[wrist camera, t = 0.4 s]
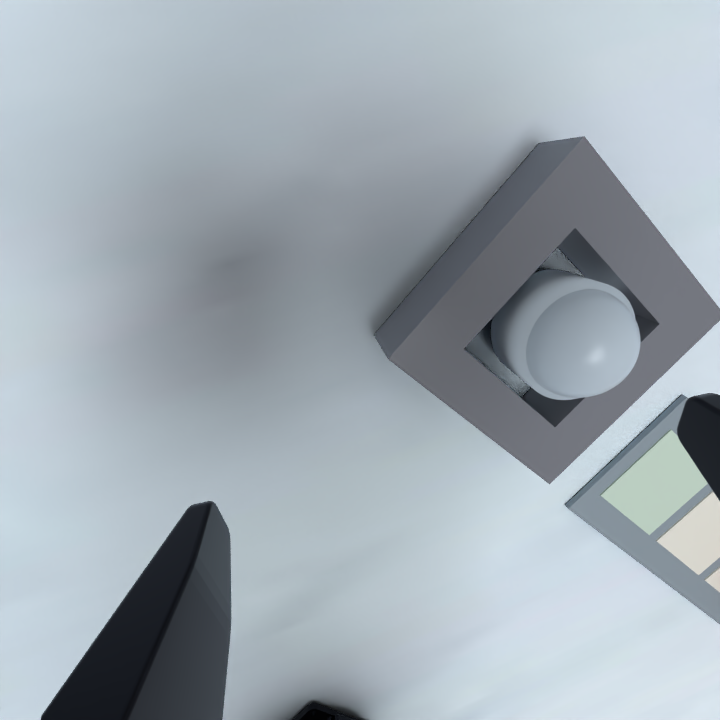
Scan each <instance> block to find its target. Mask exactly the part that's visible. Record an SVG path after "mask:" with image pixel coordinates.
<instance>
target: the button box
mask: <svg viewBox="0 0 720 720" xmlns="http://www.w3.org/2000/svg"><path fill="white" fill-rule="evenodd" d="M557 247H558V248H559V249H560V250H561V251H562V252H563V253H564V254H565V255H566V257H567V258H568V259H569V260H570V261H571V262H572V263H573V264H574V265H575V266H576V267H577V269H578V270H579V271H580V272H581V273H582V274H583V275H584V276H585V277H586V278H589V279H592V280H595V281H599V282H602V283H605V284H608V285H610V286H613V287H615V288H616V289H618V290H619V291H621V292H622V293H623V294H624V295H625V296H626V298H627V299H628V300H629V302H630V304H631V306H632V308H633V311H634V314H635V319H636V322H637V324H638V327H639V332H640V341H641V343H640V351H639V355H638V358H637V361H636V363H635V365H634V367H633V369H632V370H631V372H630V373H629V374H628V376H627V377H626V378H625V379H624V380H623V381H622V382H621V383H619V384H618V385H617V386H615V387H614V388H612V389H610V390H608V391H606V392H604V393H602V394H599V395H595V396H591V397H583V398H577V399H572V400H556V399H551V398H548V397H545V396H543V395H541V394H539V393H538V392H536V391H535V390H534V389H533V388H531V389H530V390H529V391H528V392H527V393H526V394H525V395H524V396H523V397H521V396H520V395H519V394H517V393H516V392H515V391H514V390H513V389H512V388H510V387H509V386H508V385H507V384H506V383H505V382H503V381H502V380H501V379H500V378H499V377H498V376H496V375H495V374H494V373H493V372H492V371H491V370H489V369H488V368H487V367H486V366H485V365H483V364H482V363H481V362H480V361H479V360H478V359H476V358H475V357H474V356H473V355H472V354H471V353H469V352H468V351H467V350H466V349H465V347H466V346H467V345H468V344H469V343H470V342H471V341H472V340H473V338H474V337H475V336H476V335H477V334H478V333H479V332H480V331H481V330H482V329H483V328H484V326H485V325H486V324H487V323H488V322H489V321H490V320H491V319H492V318H493V317H494V316H495V314H496V313H497V312H498V311H499V310H500V309H501V308H502V307H503V306H504V305H505V304H506V302H507V301H508V300H509V299H510V298H511V297H512V296H513V295H514V294H515V293H516V292H517V290H518V289H519V288H520V287H521V286H522V285H523V284H524V283H525V282H526V281H527V280H528V278H529V277H530V276H531V275H532V274H533V273H534V272H535V271H536V270H537V269H538V268H539V266H540V265H541V264H542V263H543V262H544V261H545V260H546V259H547V258H548V257H549V256H550V254H551V253H552V252H553V251H554V250H555V249H556V248H557ZM719 321H720V308H719V307H718V306H717V305H716V303H715V302H714V301H713V300H712V298H711V297H710V296H709V294H708V293H707V292H706V291H705V289H704V288H703V287H702V286H701V284H700V283H699V282H698V280H697V279H696V278H695V277H694V275H693V274H692V273H691V272H690V270H689V269H688V268H687V266H686V265H685V264H684V263H683V261H682V260H681V259H680V258H679V256H678V255H677V254H676V252H675V251H674V250H673V249H672V247H671V246H670V245H669V244H668V242H667V241H666V240H665V238H664V237H663V236H662V235H661V233H660V232H659V231H658V230H657V228H656V227H655V226H654V224H653V223H652V222H651V221H650V219H649V218H648V217H647V216H646V214H645V213H644V212H643V210H642V209H641V208H640V207H639V205H638V204H637V203H636V202H635V200H634V199H633V198H632V196H631V195H630V194H629V193H628V191H627V190H626V189H625V188H624V186H623V185H622V184H621V182H620V181H619V180H618V179H617V177H616V176H615V175H614V174H613V172H612V171H611V170H610V168H609V167H608V166H607V165H606V163H605V162H604V161H603V160H602V158H601V157H600V156H599V154H598V153H597V152H596V151H595V149H594V148H593V147H592V146H591V144H590V143H589V142H588V140H587V139H586V138H585V137H577V138H570V139H564V140H557V141H550V142H544V143H539V144H538V145H537V146H536V147H535V148H534V150H533V151H532V152H531V153H530V154H529V155H528V157H527V158H526V159H525V160H524V161H523V162H522V164H521V165H520V166H519V167H518V168H517V169H516V171H515V172H514V173H513V174H512V175H511V176H510V177H509V179H508V180H507V181H506V182H505V183H504V184H503V186H502V187H501V188H500V189H499V190H498V191H497V193H496V194H495V195H494V196H493V197H492V198H491V200H490V201H489V202H488V203H487V204H486V205H485V206H484V208H483V209H482V210H481V211H480V212H479V213H478V215H477V216H476V217H475V218H474V219H473V220H472V222H471V223H470V224H469V225H468V226H467V227H466V229H465V230H464V231H463V232H462V233H461V234H460V235H459V237H458V238H457V239H456V240H455V241H454V242H453V244H452V245H451V246H450V247H449V248H448V249H447V251H446V252H445V253H444V254H443V255H442V256H441V258H440V259H439V260H438V261H437V262H436V263H435V264H434V266H433V267H432V268H431V269H430V270H429V271H428V273H427V274H426V275H425V276H424V277H423V278H422V280H421V281H420V282H419V283H418V284H417V285H416V287H415V288H414V289H413V290H412V291H411V292H410V293H409V295H408V296H407V297H406V298H405V299H404V300H403V302H402V303H401V304H400V305H399V306H398V307H397V309H396V310H395V311H394V312H393V313H392V314H391V316H390V317H389V318H388V319H387V320H386V321H385V322H384V324H383V325H382V326H381V327H380V328H379V329H378V331H377V332H376V333H375V334H374V336H375V338H376V339H377V341H378V343H379V344H380V346H381V348H382V350H383V351H384V353H385V355H386V356H387V358H388V359H389V360H390V361H391V362H393V363H394V364H395V365H396V366H398V367H399V368H400V369H402V370H403V371H404V372H406V373H407V374H408V375H409V376H411V377H412V378H413V379H415V380H416V381H417V382H418V383H420V384H421V385H422V386H424V387H425V388H426V389H427V390H429V391H430V392H431V393H433V394H434V395H435V396H436V397H438V398H439V399H440V400H442V401H443V402H444V403H445V404H447V405H448V406H449V407H451V408H452V409H453V410H455V411H456V412H457V413H458V414H460V415H461V416H462V417H464V418H465V419H466V420H467V421H469V422H470V423H471V424H473V425H474V426H475V427H476V428H478V429H479V430H480V431H482V432H483V433H484V434H485V435H487V436H488V437H489V438H491V439H492V440H493V441H494V442H496V443H497V444H498V445H500V446H501V447H502V448H504V449H505V450H506V451H507V452H509V453H510V454H511V455H513V456H514V457H515V458H516V459H518V460H519V461H520V462H522V463H523V464H524V465H525V466H527V467H528V468H529V469H531V470H532V471H533V472H534V473H536V474H537V475H538V476H540V477H541V478H542V479H543V480H545V481H546V482H547V483H549V484H550V483H551V482H552V481H553V480H554V479H555V478H557V477H558V476H559V475H560V474H561V473H562V472H563V471H564V470H565V469H566V468H567V467H568V466H569V465H570V464H571V463H572V462H573V461H574V460H575V459H576V458H577V457H578V456H579V455H580V454H581V453H583V452H584V451H585V450H586V449H587V448H588V447H589V446H590V445H591V444H592V443H593V442H594V441H595V440H596V439H597V438H598V437H599V436H600V435H601V434H602V433H603V432H604V431H605V430H606V429H607V428H608V427H610V426H611V425H612V424H613V423H614V422H615V421H616V420H617V419H618V418H619V417H620V416H621V415H622V414H623V413H624V412H625V411H626V410H627V409H628V408H629V407H630V406H631V405H632V404H633V403H634V402H635V401H637V400H638V399H639V398H640V397H641V396H642V395H643V394H644V393H645V392H646V391H647V390H648V389H649V388H650V387H651V386H652V385H653V384H654V383H655V382H656V381H657V380H658V379H659V378H660V377H661V376H662V375H664V374H665V373H666V372H667V371H668V370H669V369H670V368H671V367H672V366H673V365H674V364H675V363H676V362H677V361H678V360H679V359H680V358H681V357H682V356H683V355H684V354H685V353H686V352H687V351H688V350H689V349H691V348H692V347H693V346H694V345H695V344H696V343H697V342H698V341H699V340H700V339H701V338H702V337H703V336H704V335H705V334H706V333H707V332H708V331H709V330H710V329H711V328H712V327H713V326H714V325H715V324H717V323H718V322H719Z"/></svg>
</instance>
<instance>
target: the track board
mask: <svg viewBox="0 0 720 720" xmlns="http://www.w3.org/2000/svg"><path fill="white" fill-rule="evenodd" d="M687 400H688V398H687V397H685V396H684V395H681V396H680V397H679V398H678V399H677V400H675V401H674V402H673V403H672V404H671V405H670V406H669V407H668V408H667V409H666V410H665V411H664V412H663V413H662V414H661V415H660V416H659V417H657V418H656V419H655V420H654V421H653V422H652V423H651V424H650V425H649V426H648V427H647V428H646V429H645V430H644V431H643V432H642V433H640V434H639V435H638V436H637V437H636V438H635V439H634V440H633V441H632V442H631V443H630V444H629V445H628V446H627V447H626V448H625V449H624V450H622V451H621V452H620V453H619V454H618V455H617V456H616V457H615V458H614V459H613V460H612V461H611V462H610V463H609V464H608V465H607V466H605V467H604V468H603V469H602V470H601V471H600V472H599V473H598V474H597V475H596V476H595V477H594V478H593V479H592V480H591V481H590V482H589V483H587V484H586V485H585V486H584V487H583V488H582V489H581V490H580V491H579V492H578V493H577V494H576V495H575V496H574V497H573V498H572V499H571V500H569V501H568V502H567V503H566V504H565V505H566V507H567V508H568V509H569V510H571V511H572V512H573V513H575V514H576V515H577V516H579V517H580V518H581V519H583V520H584V521H585V522H586V523H588V524H589V525H590V526H592V527H593V528H594V529H596V530H597V531H598V532H600V533H601V534H602V535H603V536H605V537H606V538H607V539H609V540H610V541H611V542H613V543H614V544H615V545H617V546H618V547H619V548H621V549H622V550H623V551H624V552H626V553H627V554H628V555H630V556H631V557H632V558H634V559H635V560H636V561H638V562H639V563H640V564H642V565H643V566H644V567H645V568H647V569H648V570H649V571H651V572H652V573H653V574H655V575H656V576H657V577H659V578H660V579H661V580H663V581H664V582H665V583H666V584H668V585H669V586H670V587H672V588H673V589H674V590H676V591H677V592H678V593H680V594H681V595H682V596H683V597H685V598H686V599H687V600H689V601H690V602H691V603H693V604H694V605H695V606H697V607H698V608H699V609H701V610H702V611H703V612H704V613H706V614H707V615H708V616H710V617H711V618H712V619H714V620H715V621H716V622H718V623H719V624H720V501H719V500H718V498H717V497H716V495H715V494H714V492H713V491H712V489H711V488H710V486H709V485H708V483H707V482H706V480H705V479H704V477H703V476H702V474H701V473H700V471H699V469H698V468H697V466H696V465H695V463H694V462H693V460H692V459H691V457H690V456H689V454H688V453H687V451H686V450H685V448H684V447H683V445H682V444H681V442H680V440H679V438H678V435H677V426H678V423H679V420H680V417H681V414H682V411H683V408H684V405H685V402H686V401H687Z"/></svg>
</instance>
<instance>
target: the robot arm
mask: <svg viewBox="0 0 720 720" xmlns="http://www.w3.org/2000/svg"><path fill="white" fill-rule="evenodd" d="M677 435H678V438H679V440H680V442H681V444H682V445H683V447H684V448H685V450H686V451H687V453H688V454H689V456H690V457H691V459H692V460H693V462H694V463H695V465H696V466H697V468H698V469H699V471H700V473H701V474H702V476H703V477H704V479H705V480H706V482H707V483H708V485H709V486H710V488H711V489H712V491H713V492H714V494H715V495H716V497H717V498H718V500H719V501H720V395H718V394H714V393H707V394H702V395H698V396H693V397H690V398H689V399H688V400H687V401H686V402H685V405H684V408H683V411H682V414H681V417H680V420H679V423H678V426H677ZM230 631H231V553H230V533H229V529H228V527H227V525H226V523H225V521H224V519H223V517H222V515H221V513H220V511H219V509H218V507H217V506H216V504H215V503H214V502H212V501H207V502H203V503H198V504H194V505H191V506H190V507H189V508H188V509H187V510H186V512H185V513H184V514H183V516H182V517H181V519H180V520H179V521H178V523H177V524H176V526H175V527H174V529H173V530H172V531H171V533H170V534H169V536H168V537H167V538H166V540H165V541H164V543H163V544H162V546H161V547H160V548H159V550H158V551H157V553H156V554H155V555H154V557H153V558H152V560H151V561H150V563H149V564H148V565H147V567H146V568H145V570H144V571H143V573H142V574H141V575H140V577H139V578H138V580H137V581H136V582H135V584H134V585H133V587H132V588H131V590H130V591H129V592H128V594H127V595H126V597H125V598H124V599H123V601H122V602H121V604H120V605H119V607H118V608H117V609H116V611H115V612H114V614H113V615H112V616H111V618H110V619H109V621H108V622H107V624H106V625H105V626H104V628H103V629H102V631H101V632H100V633H99V635H98V636H97V638H96V639H95V641H94V642H93V643H92V645H91V646H90V648H89V649H88V651H87V652H86V653H85V655H84V656H83V658H82V659H81V660H80V662H79V663H78V665H77V666H76V668H75V669H74V670H73V672H72V673H71V675H70V676H69V677H68V679H67V680H66V682H65V683H64V685H63V686H62V687H61V689H60V690H59V692H58V693H57V694H56V696H55V697H54V699H53V700H52V702H51V703H50V704H49V706H48V707H47V709H46V710H45V711H44V713H43V714H42V716H41V720H222V717H223V706H224V696H225V685H226V675H227V664H228V654H229V644H230ZM293 720H359V719H356V718H354V717H351V716H349V715H346V714H343V713H341V712H338V711H336V710H333V709H330V708H328V707H325V706H323V705H320V704H317V703H311V704H309V705H308V706H307V707H306V708H304V709H303V710H302V711H301V712H300V713H299V714H298V715H297V716H296V717H295V718H294V719H293Z"/></svg>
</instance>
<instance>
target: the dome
mask: <svg viewBox="0 0 720 720" xmlns="http://www.w3.org/2000/svg"><path fill="white" fill-rule="evenodd" d="M491 341H492V346H493V349H494V351H495V353H496V355H497V357H498V358H499V360H500V361H501V362H502V363H503V364H504V365H505V366H506V367H507V368H508V369H510V370H511V371H512V372H513V373H514V374H516V375H517V376H518V377H519V378H520V379H522V380H523V381H524V382H525V383H527V384H528V385H529V386H530V387H531V388H533V389H534V390H535V391H536V392H538V393H539V394H541V395H543V396H545V397H548V398H551V399H556V400H572V399H577V398H583V397H591V396H595V395H599V394H602V393H604V392H606V391H608V390H610V389H612V388H614V387H615V386H617V385H618V384H619V383H621V382H622V381H623V380H624V379H625V378H626V377H627V376H628V374H629V373H630V372H631V370H632V369H633V367H634V365H635V363H636V361H637V358H638V355H639V351H640V343H641V341H640V332H639V327H638V324H637V322H636V319H635V314H634V311H633V308H632V306H631V304H630V302H629V300H628V299H627V298H626V296H625V295H624V294H623V293H622V292H621V291H619V290H618V289H616V288H615V287H613V286H610V285H608V284H605V283H602V282H599V281H595V280H592V279H589V278H586V277H583V276H580V275H577V274H573V273H570V272H567V271H563V270H556V269H550V270H543V271H539V272H535V273H533V274H532V275H531V276H530V277H529V278H528V280H527V281H526V282H525V283H524V284H523V285H522V286H521V287H520V288H519V289H518V290H517V292H516V293H515V294H514V295H513V296H512V297H511V298H510V299H509V300H508V301H507V302H506V304H505V305H504V306H503V307H502V308H501V309H500V310H499V311H498V312H497V313H496V314H495V316H494V317H493V320H492V324H491Z"/></svg>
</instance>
